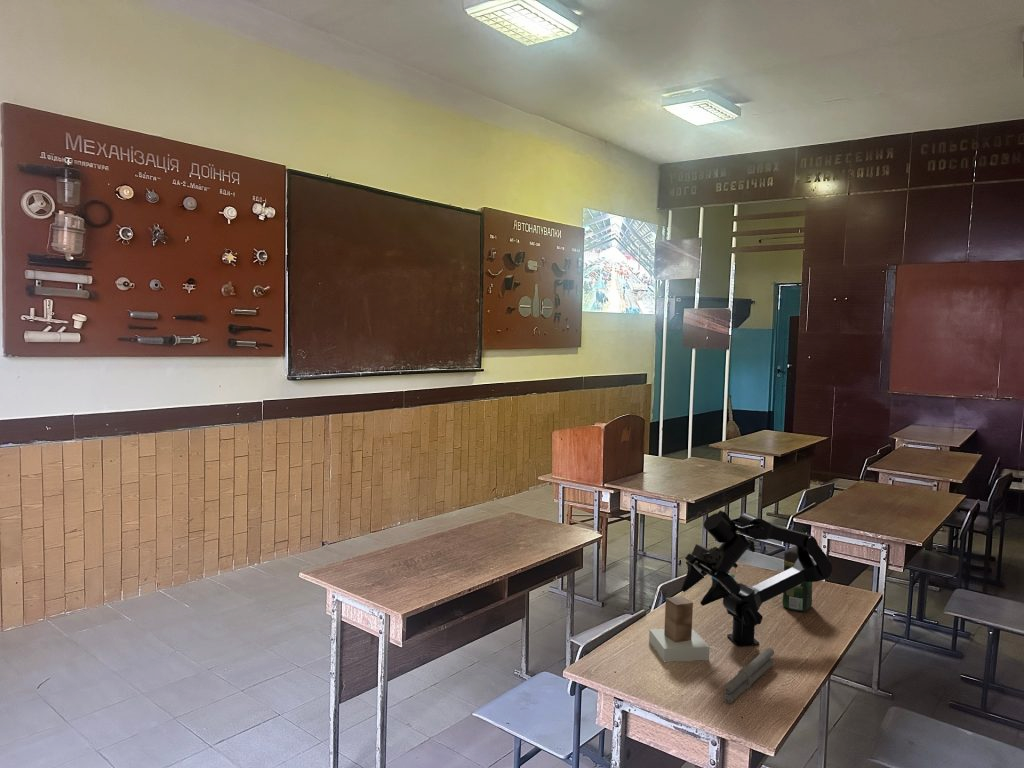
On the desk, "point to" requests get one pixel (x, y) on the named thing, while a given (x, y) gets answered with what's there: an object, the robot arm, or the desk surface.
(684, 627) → the walnut block
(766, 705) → the desk surface
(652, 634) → the plate
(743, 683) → the metal rod assembly
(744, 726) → the desk surface
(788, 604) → the coffee jar
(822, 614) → the desk surface
